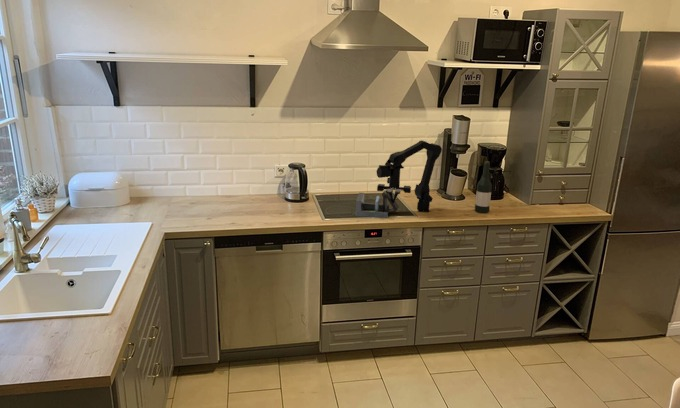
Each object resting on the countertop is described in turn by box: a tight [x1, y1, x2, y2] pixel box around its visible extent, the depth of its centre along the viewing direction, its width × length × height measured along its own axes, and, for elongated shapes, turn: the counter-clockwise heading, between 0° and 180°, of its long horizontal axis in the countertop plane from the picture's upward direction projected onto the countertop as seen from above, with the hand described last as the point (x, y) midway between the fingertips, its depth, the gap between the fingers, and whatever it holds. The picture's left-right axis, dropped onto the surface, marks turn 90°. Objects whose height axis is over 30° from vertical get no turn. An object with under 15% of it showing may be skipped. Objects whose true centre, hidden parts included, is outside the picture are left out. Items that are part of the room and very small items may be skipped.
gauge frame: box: [354, 192, 390, 219], centre depth 293 cm, size 18×17×9 cm
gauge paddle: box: [374, 195, 380, 213], centre depth 290 cm, size 2×18×8 cm, turn 172°
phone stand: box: [381, 190, 400, 214], centre depth 293 cm, size 9×6×12 cm, turn 72°
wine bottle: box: [474, 160, 493, 215], centre depth 298 cm, size 8×8×30 cm
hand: (393, 203), depth 291 cm, fingers closed
